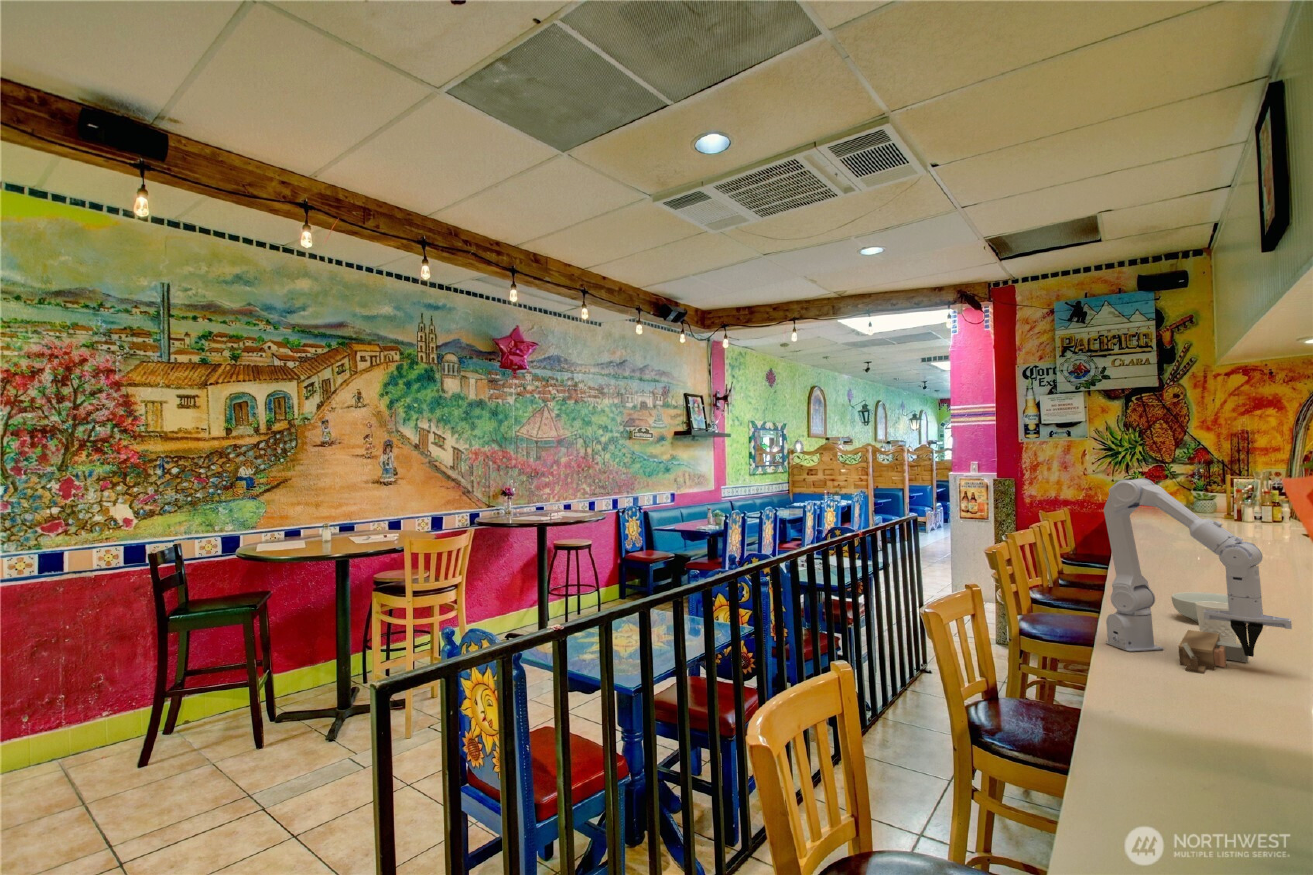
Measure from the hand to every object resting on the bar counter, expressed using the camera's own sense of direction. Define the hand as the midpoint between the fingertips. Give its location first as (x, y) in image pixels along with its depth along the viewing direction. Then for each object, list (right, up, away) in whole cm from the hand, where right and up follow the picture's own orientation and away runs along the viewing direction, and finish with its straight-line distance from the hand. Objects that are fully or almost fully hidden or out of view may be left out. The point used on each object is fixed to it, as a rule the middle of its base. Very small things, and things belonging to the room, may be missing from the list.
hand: (1249, 655), depth 141 cm
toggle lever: (-11, -2, +1) cm, 11 cm away
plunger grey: (+2, -4, +8) cm, 9 cm away
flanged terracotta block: (-5, -4, +5) cm, 9 cm away
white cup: (+11, -4, +20) cm, 23 cm away
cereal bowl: (+27, -4, +39) cm, 48 cm away
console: (-5, -4, +8) cm, 10 cm away
